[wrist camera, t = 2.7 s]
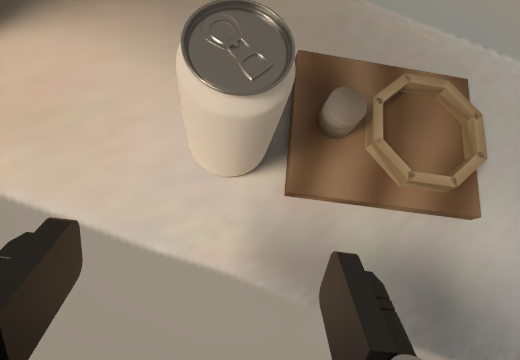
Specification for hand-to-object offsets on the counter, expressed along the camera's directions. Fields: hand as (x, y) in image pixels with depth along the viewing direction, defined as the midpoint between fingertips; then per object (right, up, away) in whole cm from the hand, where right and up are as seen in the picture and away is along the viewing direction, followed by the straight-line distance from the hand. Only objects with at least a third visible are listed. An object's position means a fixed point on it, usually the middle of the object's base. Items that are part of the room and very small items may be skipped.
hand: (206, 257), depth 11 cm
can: (-1, +6, +17) cm, 18 cm away
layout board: (+12, +6, +19) cm, 24 cm away
